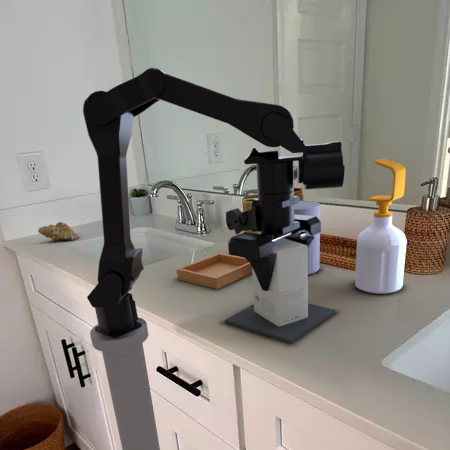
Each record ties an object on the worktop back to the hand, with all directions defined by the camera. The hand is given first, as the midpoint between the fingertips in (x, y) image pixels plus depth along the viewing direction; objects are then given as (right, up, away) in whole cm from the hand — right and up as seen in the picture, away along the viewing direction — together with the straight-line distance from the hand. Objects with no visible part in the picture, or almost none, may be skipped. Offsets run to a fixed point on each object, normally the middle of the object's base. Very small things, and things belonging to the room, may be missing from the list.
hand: (278, 283), depth 74 cm
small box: (+1, -6, +2) cm, 6 cm away
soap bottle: (+22, 0, +13) cm, 25 cm away
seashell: (-66, +17, +73) cm, 100 cm away
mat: (+1, -6, +2) cm, 7 cm away
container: (+8, +4, +26) cm, 28 cm away
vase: (-1, +9, +41) cm, 42 cm away
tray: (-11, +3, +27) cm, 29 cm away
